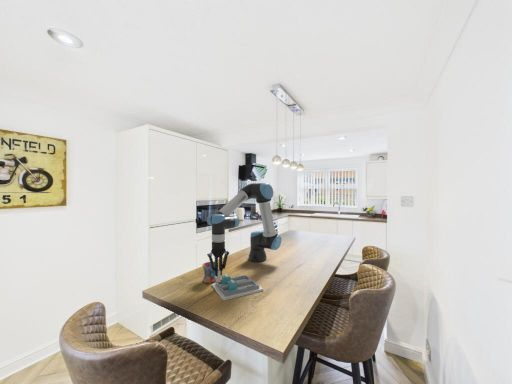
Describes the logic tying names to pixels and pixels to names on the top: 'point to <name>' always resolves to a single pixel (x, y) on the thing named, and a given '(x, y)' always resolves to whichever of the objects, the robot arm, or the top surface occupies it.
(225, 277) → the tab
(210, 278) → the mug
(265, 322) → the top surface
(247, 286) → the switch board
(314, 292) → the top surface
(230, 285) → the tab
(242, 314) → the top surface
